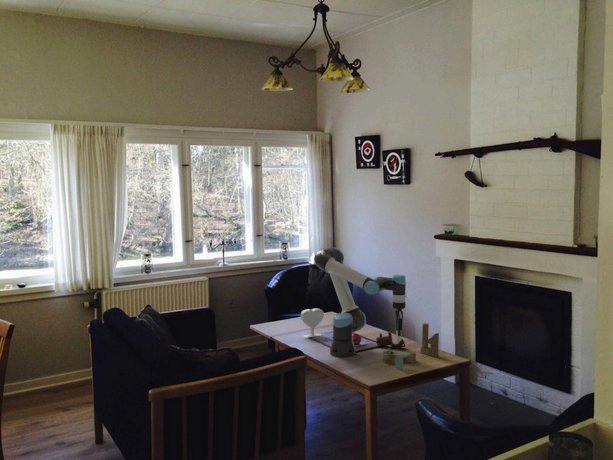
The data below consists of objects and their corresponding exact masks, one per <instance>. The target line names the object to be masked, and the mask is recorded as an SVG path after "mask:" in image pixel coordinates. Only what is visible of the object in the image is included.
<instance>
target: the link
mask: <svg viewBox="0 0 613 460" xmlns="http://www.w3.org/2000/svg"><path fill="white" fill-rule="evenodd" d="M402 352H403V351H396V350H391V354H387V350H382V360H383V363H384V364H395V355H396V354H398V353H402ZM407 352H408V353H410V354H411V356H408V357H405V358H403V363H417V362H416V360H417V359H416V357H417V356H416V355H417V354H416V352H415V351H407Z"/></svg>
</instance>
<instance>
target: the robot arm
mask: <svg viewBox="0 0 613 460" xmlns="http://www.w3.org/2000/svg"><path fill="white" fill-rule="evenodd" d="M344 259H345V255H344V252H342V250H341V249H339V248H338V247H329V248H324V249H323V248H322V249H319V250H318V251H317V252H316V253H315V255H314V259H313V260H314V264H315V265H316V267H317V268H318V269H320V270H322V271H324V272H325V273H328V274H329V276H330V278H331V281H332V283H333V287H334V289H335V292H336V295H337V298H338V301H339V303H340V306H341V309H342V310H341V313H340V312H339V313H337V314H334V316H333V318H332V319H333V320H332V342H331V345H330V348H329V354H330V355H331V356H334V357H339V358H349V357H352V356H355V355H356V348H355V345H354V342H353V333H355V332H358V331H360V330H361V329H363V328H364V327H365V326H366V324H367V317H366V314H365V312H363V311H362V310H361V309H360V306H358V305H356V304H355V300H354V298H353V295H352V292H351V289H350V286H349V283H352V284H353V285H354V286H357V287H359V288H361V289H363V290H364V292H365V293H366V294H367V295H376V294H379V293H380V292H382V291H392V309H395V311H394V315H395V316H394V317H395V331H396V338H395V339H396V342H400V341H401V338H402V331H403V321H404V320H403V318H404V312H403V310H404V309H406V298H407V295H406V294H407V293H406V288H407V287H406V285H407V282H406V281H407V280H406V276H405V275H403V274H393V276H392V277H386V276H375V277H374V278H372V277H370V276H368V275H365V274H364V273H362V272H359V271H357V270H355V269H353V268H351V267H349V266H347V265H345V264H344Z"/></svg>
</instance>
